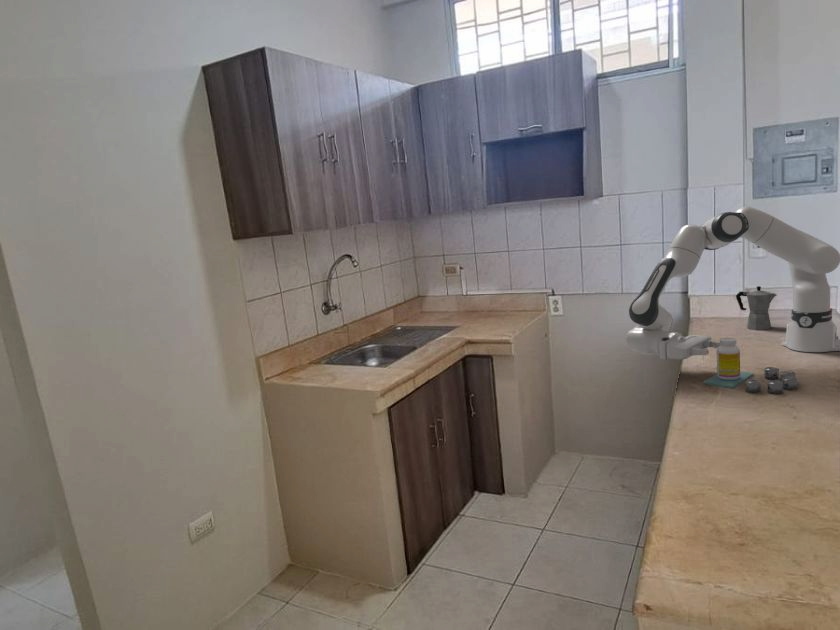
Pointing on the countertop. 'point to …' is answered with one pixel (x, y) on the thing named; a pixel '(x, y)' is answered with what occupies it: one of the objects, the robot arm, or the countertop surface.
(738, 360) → the supplement bottle
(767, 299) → the coffeepot
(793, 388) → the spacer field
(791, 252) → the robot arm
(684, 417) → the countertop surface
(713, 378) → the mat
